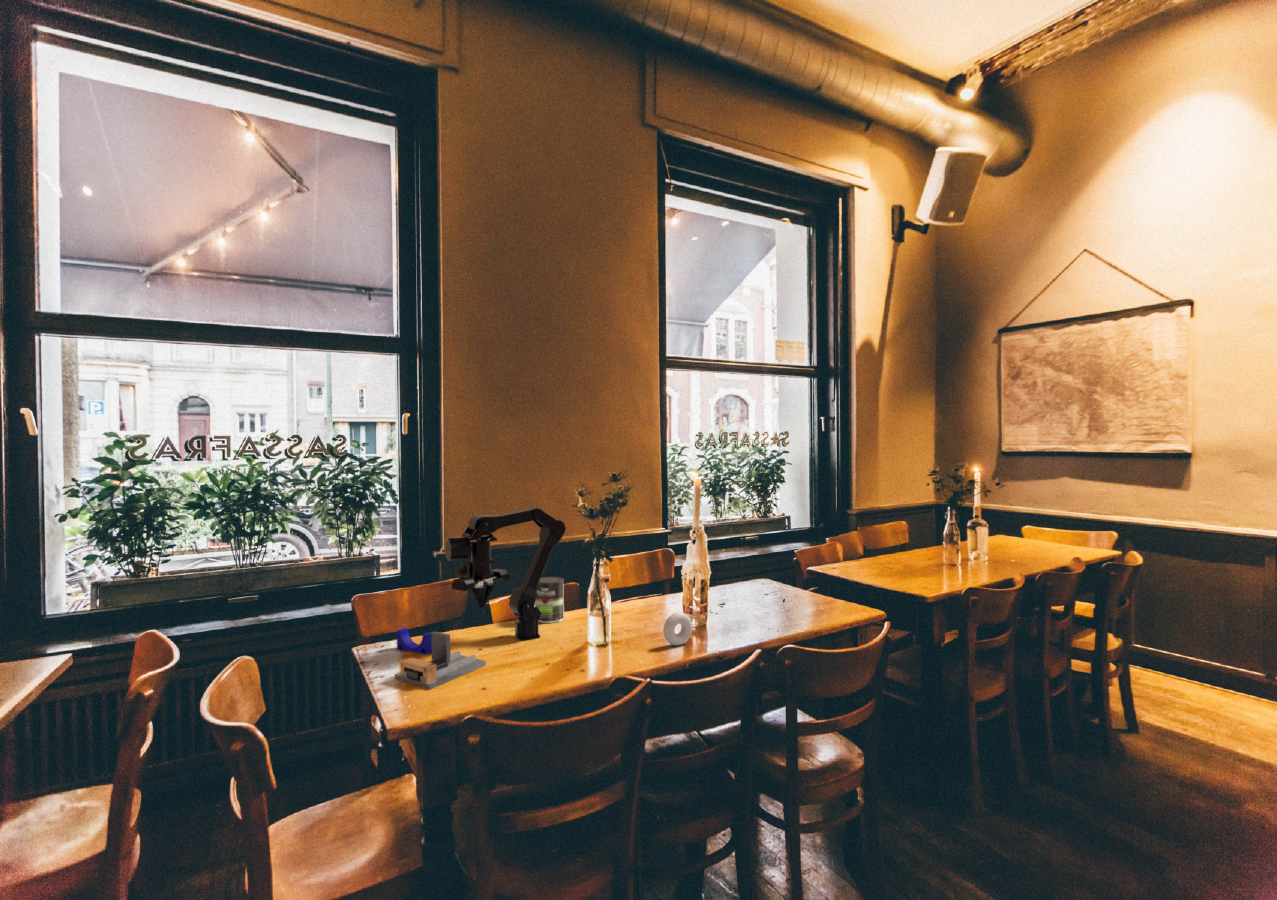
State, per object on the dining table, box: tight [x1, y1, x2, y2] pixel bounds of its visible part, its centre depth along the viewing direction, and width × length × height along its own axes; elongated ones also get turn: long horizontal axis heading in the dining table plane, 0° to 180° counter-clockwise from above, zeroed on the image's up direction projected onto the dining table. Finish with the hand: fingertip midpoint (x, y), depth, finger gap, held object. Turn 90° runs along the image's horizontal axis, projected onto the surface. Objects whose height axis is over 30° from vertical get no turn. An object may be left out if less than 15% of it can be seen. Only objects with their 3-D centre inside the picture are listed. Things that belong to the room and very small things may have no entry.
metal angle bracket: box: [406, 631, 451, 680], centre depth 159 cm, size 10×6×9 cm, turn 149°
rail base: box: [394, 650, 487, 690], centre depth 163 cm, size 19×14×5 cm
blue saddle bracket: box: [396, 627, 433, 655], centre depth 181 cm, size 12×4×6 cm, turn 65°
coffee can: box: [534, 576, 565, 624], centre depth 211 cm, size 10×10×14 cm
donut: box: [662, 611, 693, 647], centre depth 181 cm, size 10×4×10 cm, turn 120°
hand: (481, 607), depth 183 cm, fingers closed
